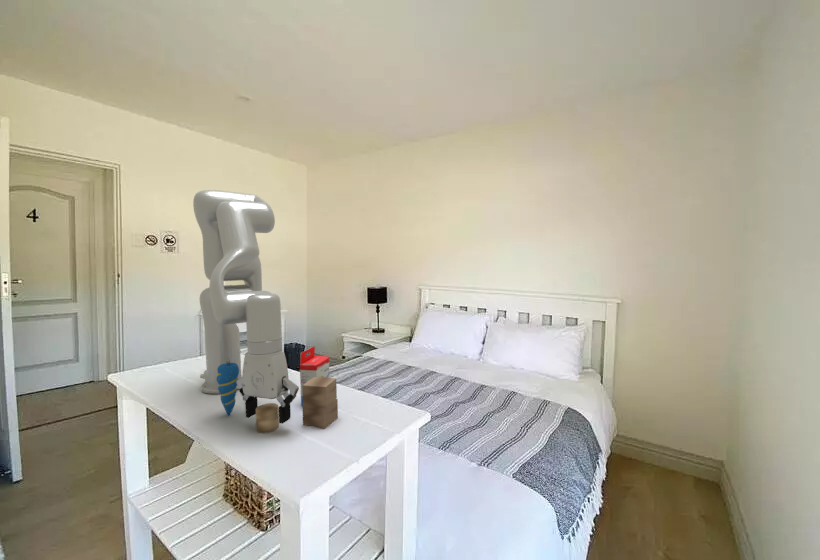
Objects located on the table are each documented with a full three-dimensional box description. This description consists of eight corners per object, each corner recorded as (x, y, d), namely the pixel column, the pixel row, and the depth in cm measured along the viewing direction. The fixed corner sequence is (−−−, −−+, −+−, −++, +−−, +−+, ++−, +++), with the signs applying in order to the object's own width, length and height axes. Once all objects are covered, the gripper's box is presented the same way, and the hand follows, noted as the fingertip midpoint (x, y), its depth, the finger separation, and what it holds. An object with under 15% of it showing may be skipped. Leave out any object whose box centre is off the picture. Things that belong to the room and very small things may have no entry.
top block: (302, 405, 86) (302, 385, 85) (314, 396, 92) (314, 376, 91) (326, 407, 84) (325, 387, 84) (336, 397, 90) (336, 378, 90)
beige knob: (251, 431, 84) (250, 410, 83) (267, 421, 88) (266, 401, 88) (268, 434, 82) (268, 413, 82) (283, 424, 87) (282, 404, 86)
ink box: (317, 408, 96) (315, 354, 95) (300, 406, 97) (298, 353, 96) (330, 395, 104) (329, 346, 103) (314, 394, 105) (313, 345, 104)
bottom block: (302, 425, 86) (302, 404, 86) (317, 414, 92) (317, 395, 92) (324, 429, 84) (323, 408, 84) (337, 418, 90) (337, 398, 90)
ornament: (219, 413, 93) (216, 356, 92) (241, 409, 95) (238, 354, 94) (217, 421, 89) (214, 361, 87) (240, 417, 91) (237, 359, 90)
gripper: (223, 348, 83) (227, 420, 84) (284, 353, 77) (287, 430, 78) (248, 340, 90) (251, 407, 91) (306, 345, 84) (308, 416, 85)
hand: (268, 418), depth 85 cm, fingers open, 9 cm apart
